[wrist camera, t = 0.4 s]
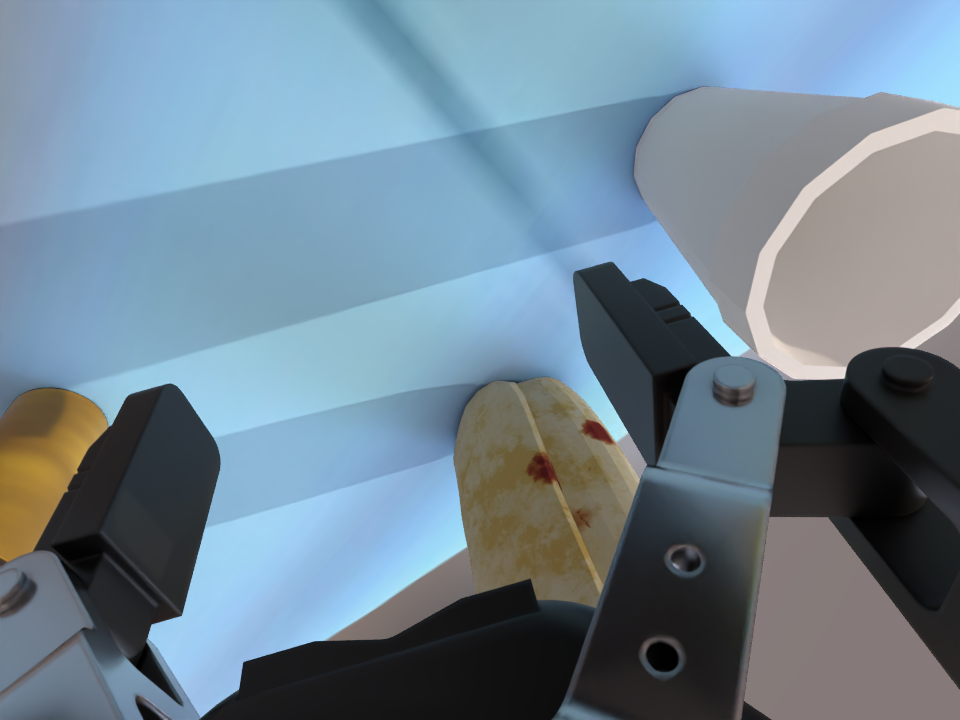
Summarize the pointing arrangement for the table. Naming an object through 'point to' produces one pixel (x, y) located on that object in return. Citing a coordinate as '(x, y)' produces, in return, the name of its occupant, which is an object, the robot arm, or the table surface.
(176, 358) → the table surface
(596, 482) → the food model
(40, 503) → the lidded jar
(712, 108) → the foam cup
